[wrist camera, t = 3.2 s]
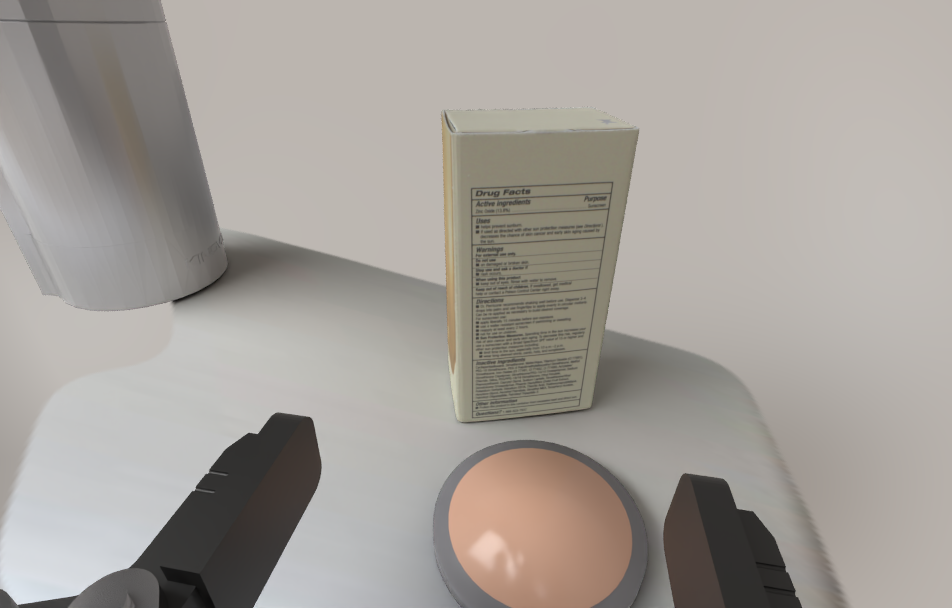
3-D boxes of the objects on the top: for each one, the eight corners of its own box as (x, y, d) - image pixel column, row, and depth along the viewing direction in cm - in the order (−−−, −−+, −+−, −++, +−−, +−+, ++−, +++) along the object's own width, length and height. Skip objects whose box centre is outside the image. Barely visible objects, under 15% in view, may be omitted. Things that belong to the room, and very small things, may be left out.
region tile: (421, 643, 13) (420, 628, 13) (442, 449, 19) (442, 434, 19) (673, 653, 13) (680, 638, 13) (616, 455, 19) (619, 441, 19)
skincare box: (563, 355, 25) (601, 104, 19) (593, 413, 21) (653, 126, 15) (440, 363, 24) (437, 103, 18) (449, 426, 20) (450, 125, 14)
